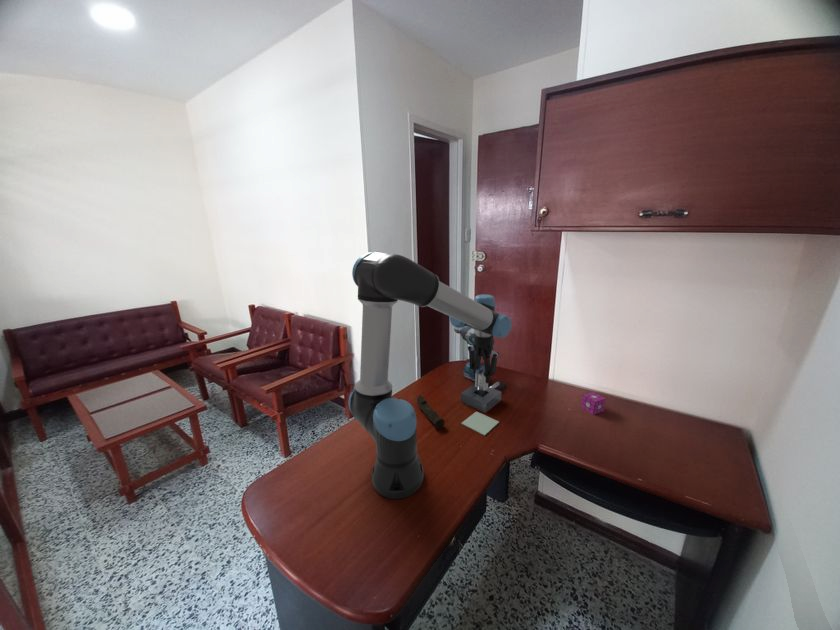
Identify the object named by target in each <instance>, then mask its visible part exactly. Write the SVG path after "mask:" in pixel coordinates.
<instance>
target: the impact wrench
mask: <svg viewBox="0 0 840 630" xmlns="http://www.w3.org/2000/svg"><path fill="white" fill-rule="evenodd" d="M453 331H454V332H455V333H456V334H459V335H460V336H461V338H462V339H463V340H464V341H466V344H468V345H469V346H470V345H474V334H475V333H474V329H472V328H470V327H467V326H464V327H462V328H461V327H460V328H456V327H454V328H453ZM494 344H495V339H494V337H493V345H492V347H493V348H494ZM475 355H476V351H475ZM475 359H476V357H475ZM483 365H484V363H482V362H480V367H481V366H483ZM480 367H479V368H480ZM462 376H463V378H465V379H468V380H470V381H471V382H474V383H475V378H474V371H473V370H472V369H470V363H469V361H468V362H466V364H465V367H463V370H462Z"/></svg>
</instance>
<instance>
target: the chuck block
mask: <svg viewBox="0 0 840 630" xmlns="http://www.w3.org/2000/svg"><path fill="white" fill-rule="evenodd" d="M500 385H501V383H500V382H499V381H496V382H495V383H493V384H491V386H488V389H486V390H485V396H484V397H482V396H480V395H477V391H478V387H475V383H474V384H473V385H470V386H469V387H468V388H466V389H465V390H464V391H462V392H460V402H461V403H463V404H465V405H467V406H470V407H471V408H474V409H475V410H476V409H477V410H479V411H480V412H482V413H485V414H486V413H487V412H489V411H490V410H491V409H492V408H493V407H495V406H497V404H498V403H500V402H501V401H502V391H501V390H498V389H497V387H499V386H500Z"/></svg>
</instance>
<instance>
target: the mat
mask: <svg viewBox="0 0 840 630" xmlns="http://www.w3.org/2000/svg"><path fill="white" fill-rule="evenodd" d="M499 423H500V421H499V420H496V419H494V418H492V417H490V416H487V415H485V414H483V413H481V412H478V411H475V412H474V413H473V414H471V415H470V416H469V417H466V419H465V420H464V421H462V422H461V423H460V424H461V425H462V426H464V427H465V428H466V427H467V428H468V429H470V430H473V431H474V432H476V433H478V434H480V435H482V436H486V435H488V433H490V432H491V430H493V429H494V428H495V427H496V426H497V425H498V424H499Z"/></svg>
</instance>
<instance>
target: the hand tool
mask: <svg viewBox="0 0 840 630" xmlns="http://www.w3.org/2000/svg"><path fill="white" fill-rule="evenodd" d="M416 401H417V406H418V408H419V410H420V411H422V412H423V413H424V414H425V416H426V417H427V419H429V421H430V422H431V423H432V424H433V426H434V428H435V430H439V429H442V428H443V427H444V426H445V421H446V420H445V418H442V417H440V415H439V414H438V412H437V411H435V410H434V409H433V408H432V407H431V406H430V405H429V403H428V402H427V400H426V399H425V397H423V396H421V395H418V396H417V397H416Z"/></svg>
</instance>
